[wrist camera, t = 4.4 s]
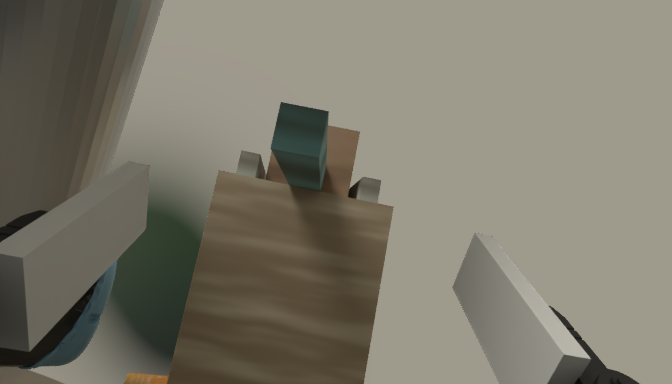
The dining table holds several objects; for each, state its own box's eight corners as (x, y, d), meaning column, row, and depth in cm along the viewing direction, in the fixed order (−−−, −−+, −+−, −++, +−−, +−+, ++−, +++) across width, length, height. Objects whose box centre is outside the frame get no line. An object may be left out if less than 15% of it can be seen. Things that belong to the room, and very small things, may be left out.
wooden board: (321, 633, 27) (397, 182, 32) (111, 613, 26) (224, 145, 31) (308, 501, 41) (363, 201, 46) (171, 484, 39) (243, 176, 44)
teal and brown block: (362, 166, 20) (382, 57, 21) (226, 139, 20) (253, 32, 21) (342, 208, 40) (353, 152, 41) (274, 195, 40) (286, 139, 41)
